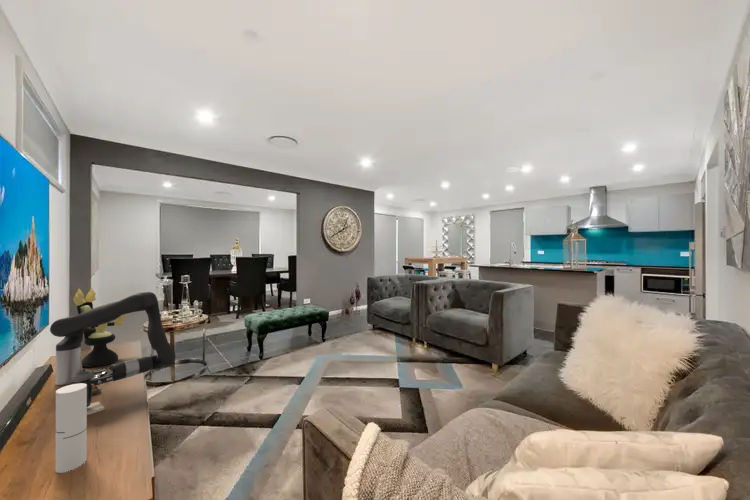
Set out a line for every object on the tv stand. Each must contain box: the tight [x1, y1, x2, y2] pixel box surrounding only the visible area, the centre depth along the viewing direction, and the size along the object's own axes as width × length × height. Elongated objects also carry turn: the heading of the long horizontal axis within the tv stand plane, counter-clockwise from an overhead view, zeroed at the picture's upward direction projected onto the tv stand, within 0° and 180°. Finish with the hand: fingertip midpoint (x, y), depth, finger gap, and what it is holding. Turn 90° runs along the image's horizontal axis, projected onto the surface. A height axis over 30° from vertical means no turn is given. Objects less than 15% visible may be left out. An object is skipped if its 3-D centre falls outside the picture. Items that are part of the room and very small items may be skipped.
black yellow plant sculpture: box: [72, 287, 126, 368], centre depth 184 cm, size 19×22×45 cm
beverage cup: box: [70, 358, 94, 407], centre depth 131 cm, size 7×7×20 cm
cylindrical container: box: [55, 383, 88, 474], centre depth 100 cm, size 7×7×25 cm
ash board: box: [87, 400, 105, 416], centre depth 131 cm, size 9×12×1 cm
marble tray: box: [92, 385, 102, 397], centre depth 147 cm, size 9×9×4 cm
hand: (76, 382), depth 129 cm, fingers closed on beverage cup, 7 cm apart
